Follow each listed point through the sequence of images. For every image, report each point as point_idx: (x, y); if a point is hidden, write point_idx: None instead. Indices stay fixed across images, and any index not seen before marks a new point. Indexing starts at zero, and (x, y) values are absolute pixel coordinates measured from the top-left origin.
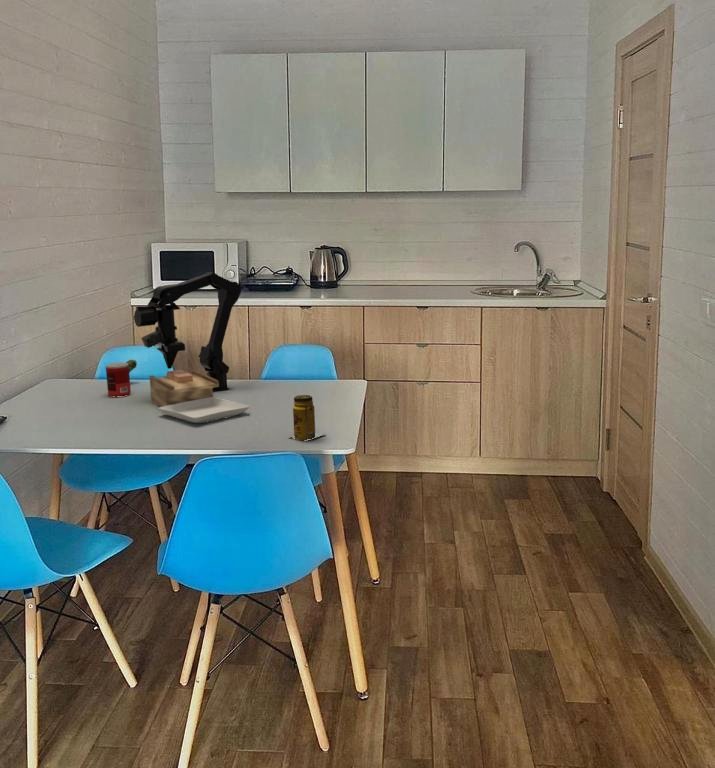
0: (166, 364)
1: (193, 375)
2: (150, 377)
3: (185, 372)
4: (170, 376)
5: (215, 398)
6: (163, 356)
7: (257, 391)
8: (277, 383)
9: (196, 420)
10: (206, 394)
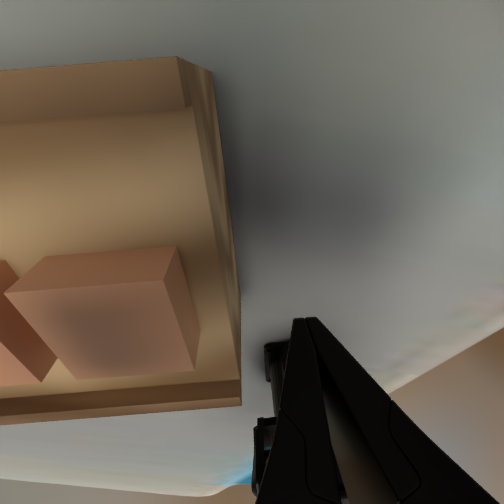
0: (330, 344)
1: (167, 376)
2: (136, 61)
3: (76, 376)
4: (58, 269)
5: None
6: (427, 438)
7: (201, 411)
8: None
9: None
10: None
